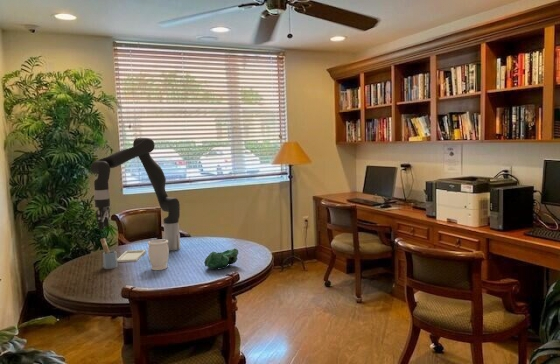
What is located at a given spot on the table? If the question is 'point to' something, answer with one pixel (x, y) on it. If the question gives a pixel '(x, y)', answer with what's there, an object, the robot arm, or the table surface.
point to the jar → (158, 254)
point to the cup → (110, 260)
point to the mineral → (221, 259)
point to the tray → (131, 256)
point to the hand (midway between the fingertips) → (104, 227)
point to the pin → (105, 246)
